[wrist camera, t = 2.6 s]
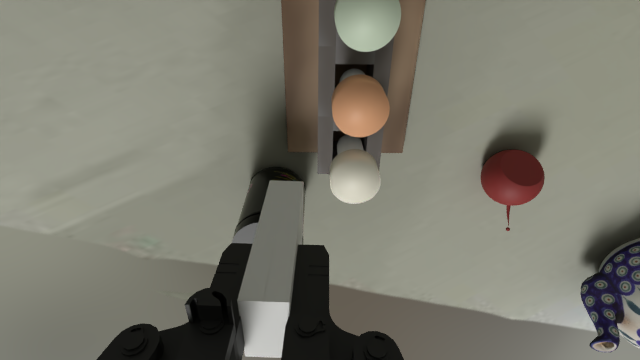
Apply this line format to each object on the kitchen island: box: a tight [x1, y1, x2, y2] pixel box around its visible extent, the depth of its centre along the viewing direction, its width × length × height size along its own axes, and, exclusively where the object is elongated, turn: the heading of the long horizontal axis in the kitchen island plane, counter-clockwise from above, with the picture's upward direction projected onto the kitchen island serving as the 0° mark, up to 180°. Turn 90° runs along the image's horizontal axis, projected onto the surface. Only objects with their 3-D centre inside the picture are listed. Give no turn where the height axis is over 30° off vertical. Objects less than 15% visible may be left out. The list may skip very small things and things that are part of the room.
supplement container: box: [232, 167, 305, 245], centre depth 38 cm, size 7×7×10 cm
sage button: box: [334, 0, 401, 52], centre depth 24 cm, size 4×4×6 cm
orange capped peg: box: [332, 69, 390, 137], centre depth 28 cm, size 4×4×6 cm
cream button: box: [330, 135, 381, 204], centre depth 31 cm, size 4×4×6 cm
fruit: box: [481, 150, 544, 231], centre depth 39 cm, size 6×6×8 cm
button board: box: [281, 0, 426, 174], centre depth 32 cm, size 12×18×6 cm
